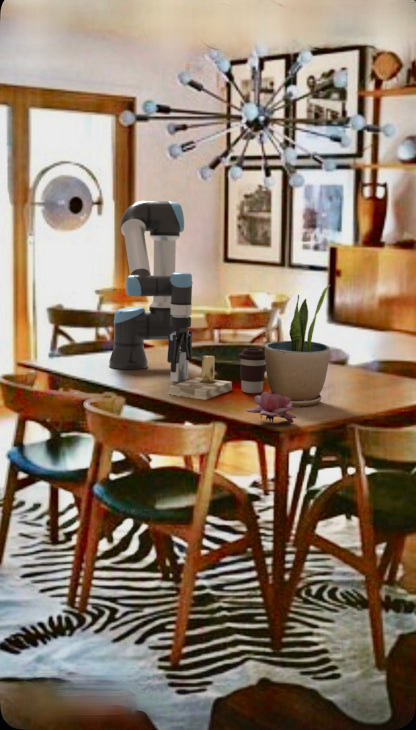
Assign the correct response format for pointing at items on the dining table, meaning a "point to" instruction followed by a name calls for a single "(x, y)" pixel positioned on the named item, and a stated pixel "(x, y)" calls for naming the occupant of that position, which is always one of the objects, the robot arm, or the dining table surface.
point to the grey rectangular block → (181, 367)
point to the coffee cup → (252, 370)
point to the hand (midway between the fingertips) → (179, 379)
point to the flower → (273, 406)
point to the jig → (200, 388)
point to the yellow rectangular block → (208, 369)
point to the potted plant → (298, 361)
